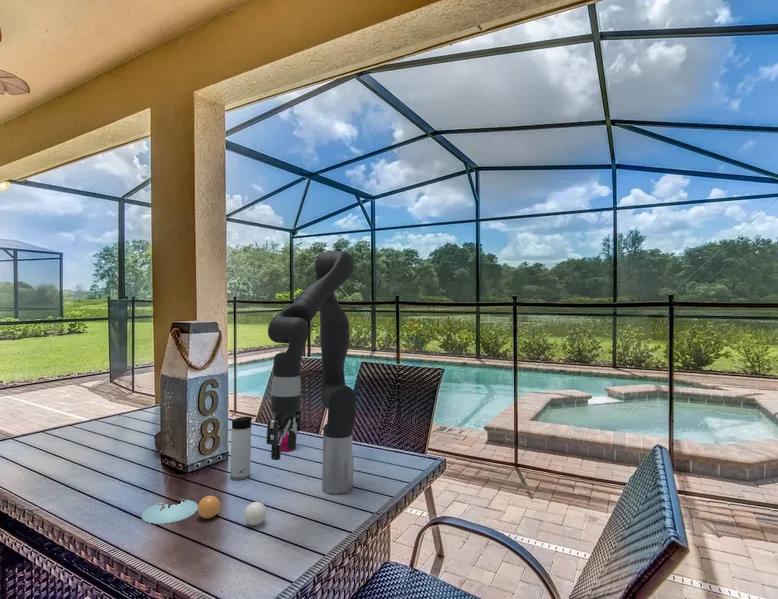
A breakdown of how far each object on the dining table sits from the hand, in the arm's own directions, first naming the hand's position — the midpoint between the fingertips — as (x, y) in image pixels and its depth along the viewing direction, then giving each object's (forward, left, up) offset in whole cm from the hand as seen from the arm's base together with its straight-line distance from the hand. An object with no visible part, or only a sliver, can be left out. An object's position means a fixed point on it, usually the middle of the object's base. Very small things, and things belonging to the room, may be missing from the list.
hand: (283, 454), depth 116 cm
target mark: (+33, +1, -19) cm, 38 cm away
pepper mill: (+26, -56, -19) cm, 65 cm away
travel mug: (+28, -26, -19) cm, 43 cm away
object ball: (+21, +1, -16) cm, 27 cm away
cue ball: (+7, +1, -16) cm, 18 cm away
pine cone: (+66, -38, -19) cm, 79 cm away
